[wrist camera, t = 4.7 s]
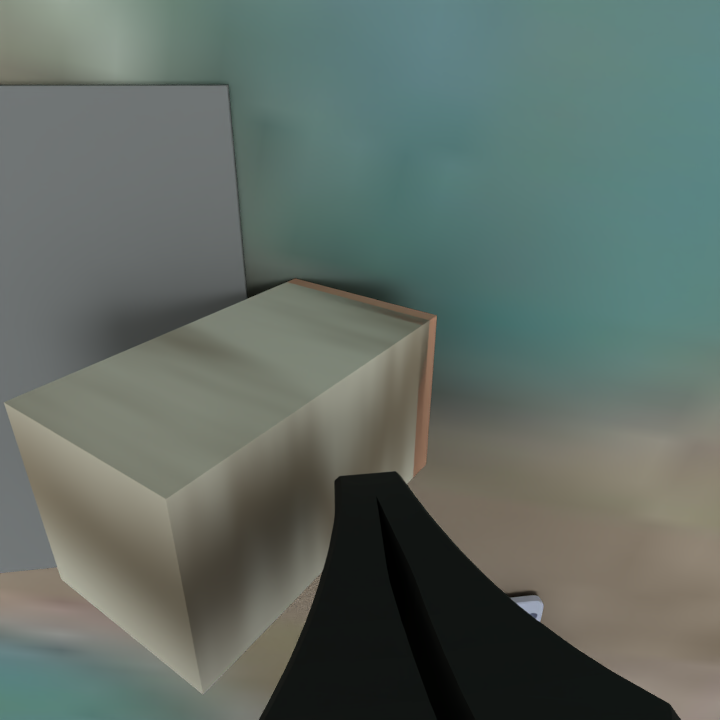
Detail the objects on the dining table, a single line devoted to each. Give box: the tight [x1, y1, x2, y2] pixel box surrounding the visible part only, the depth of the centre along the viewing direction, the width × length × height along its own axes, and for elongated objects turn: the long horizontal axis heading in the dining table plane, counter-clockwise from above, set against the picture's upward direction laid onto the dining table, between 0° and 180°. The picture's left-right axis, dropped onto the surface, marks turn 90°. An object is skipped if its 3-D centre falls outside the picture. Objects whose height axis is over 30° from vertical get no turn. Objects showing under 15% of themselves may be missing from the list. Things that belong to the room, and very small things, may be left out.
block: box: [4, 278, 437, 695], centre depth 15 cm, size 5×5×9 cm
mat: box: [0, 85, 248, 573], centre depth 18 cm, size 16×14×1 cm
